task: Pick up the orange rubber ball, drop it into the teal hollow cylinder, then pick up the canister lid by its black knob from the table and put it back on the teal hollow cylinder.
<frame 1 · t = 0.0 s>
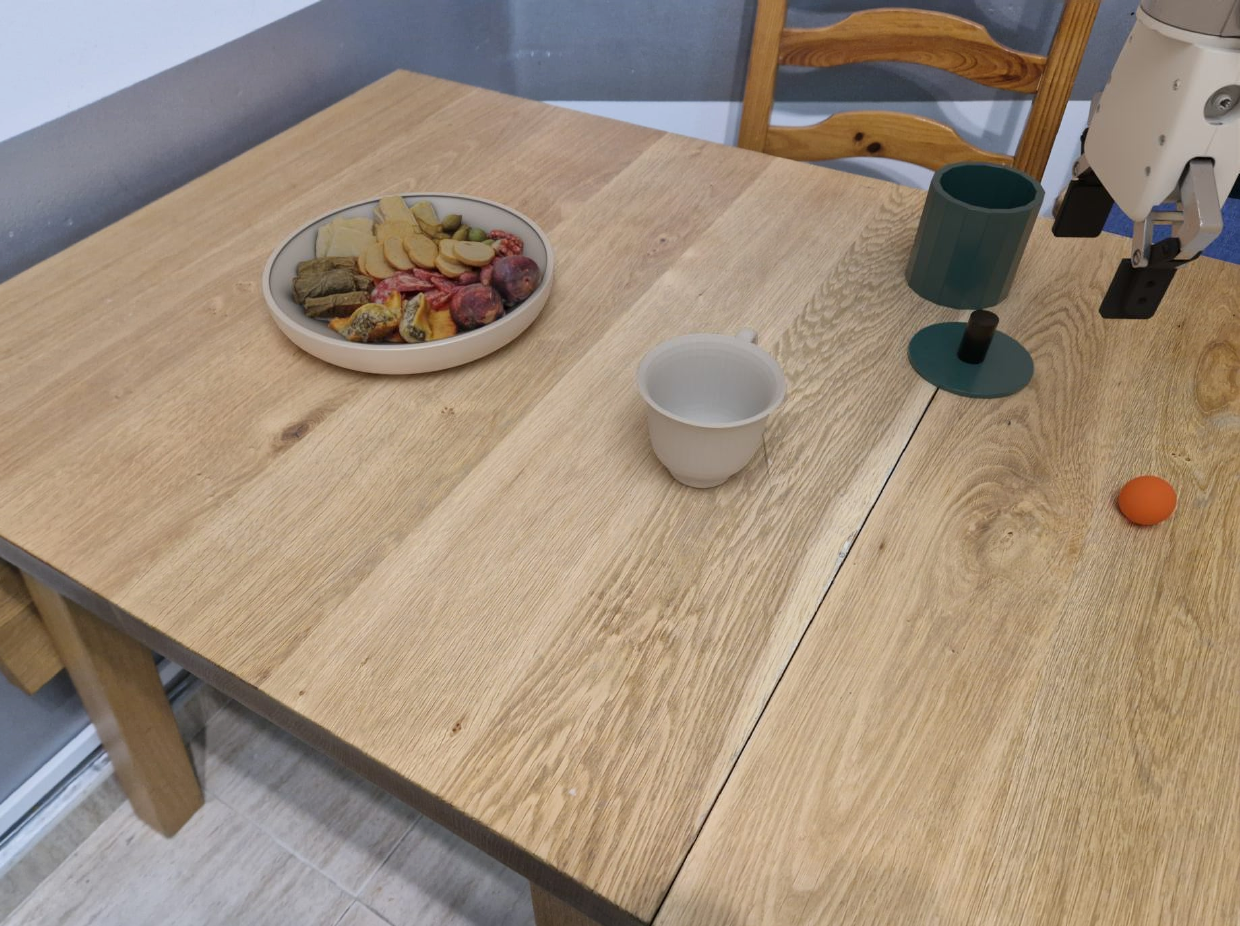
hand: (1097, 273, 62), 22 cm above the table, tool pointing down, fingers open, 9 cm apart
bowl: (415, 304, 101), on the table
ball: (1147, 500, 76), point 2 cm above the table
teacup: (706, 457, 83), on the table
teal hollow cylinder: (955, 285, 101), on the table
canister lid: (969, 360, 91), point 1 cm above the table
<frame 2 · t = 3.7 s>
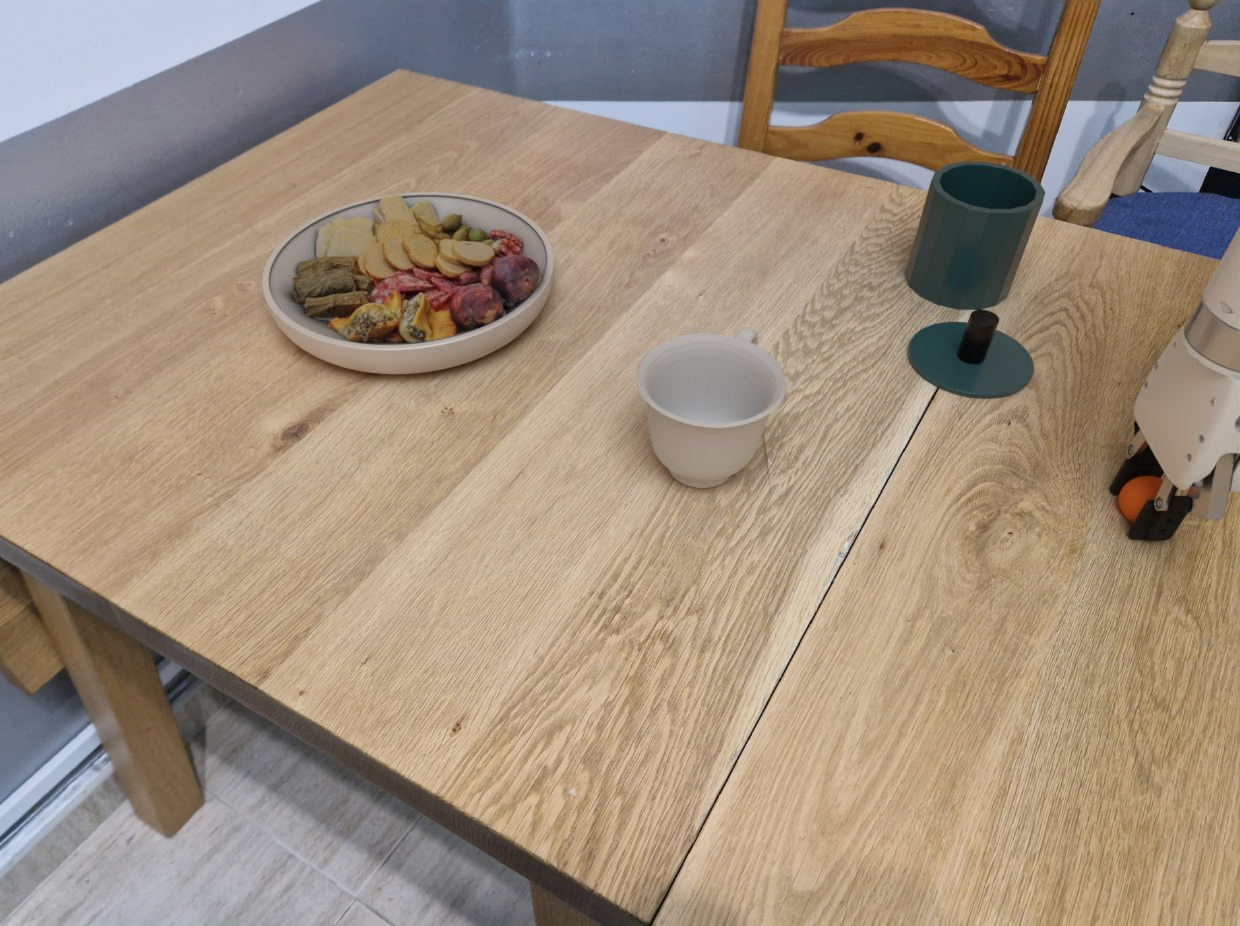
hand: (1138, 514, 77), 0 cm above the table, tool pointing down, fingers closed on ball, 3 cm apart
ball: (1147, 500, 76), point 2 cm above the table, touching gripper
everything else where it was.
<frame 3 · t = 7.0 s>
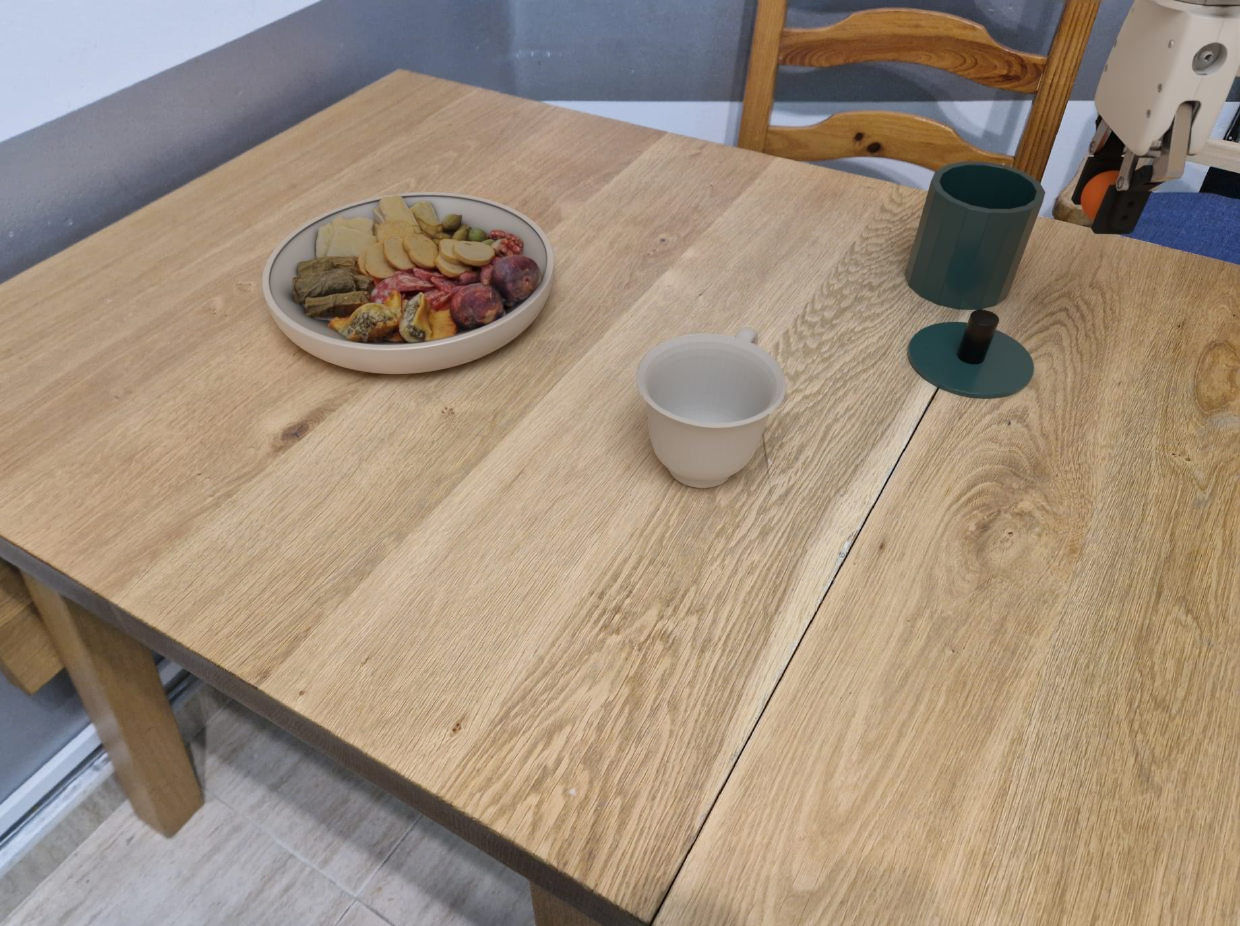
hand: (1101, 215, 77), 17 cm above the table, tool pointing down, fingers closed on ball, 3 cm apart
ball: (1108, 196, 76), point 19 cm above the table, touching gripper
everything else where it was.
when the fingers open (10 cm above the table, at t = 11.0 s): ball stays where it is, resting on teal hollow cylinder.
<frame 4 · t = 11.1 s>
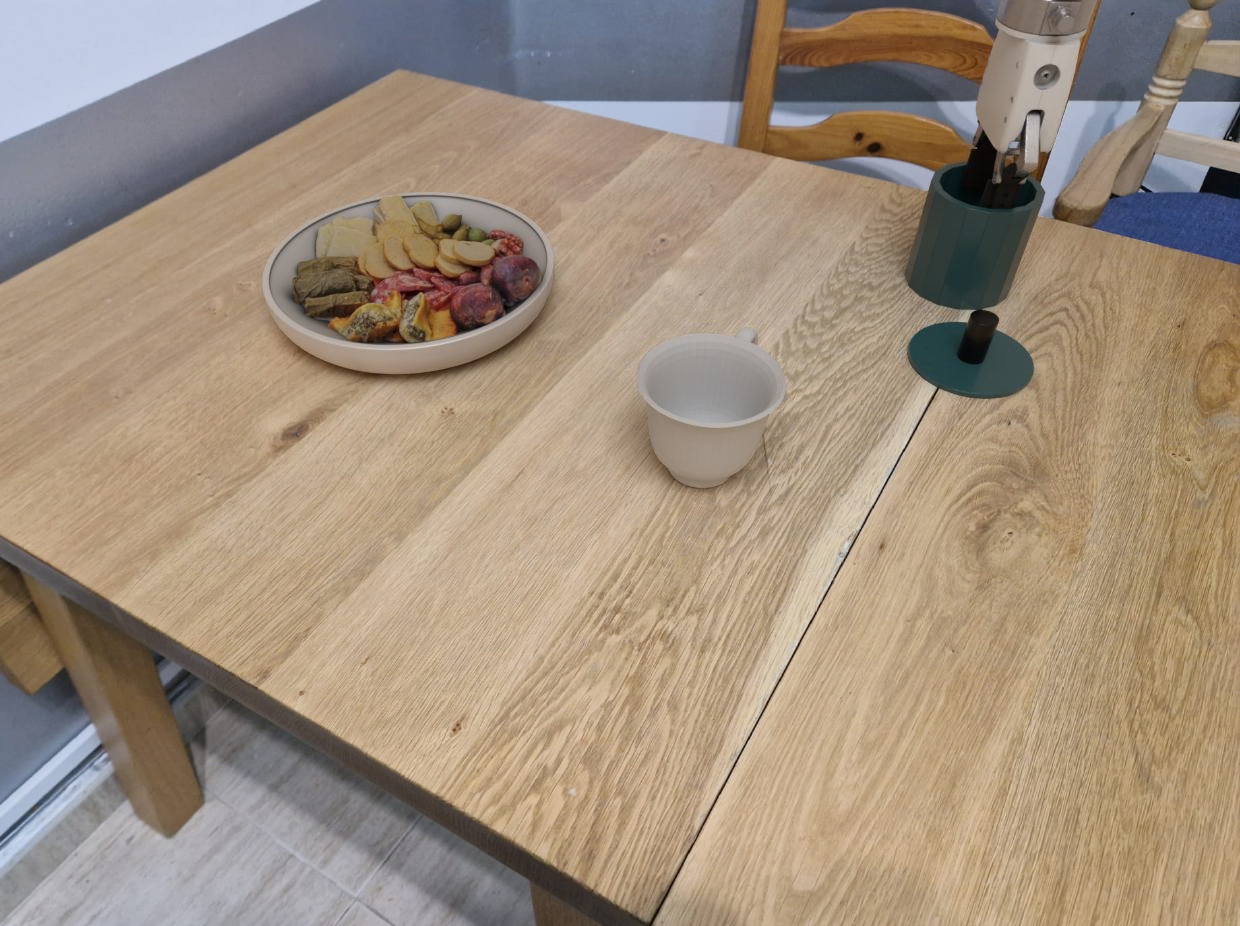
hand: (985, 201, 94), 10 cm above the table, tool pointing down, fingers open, 5 cm apart
ball: (961, 265, 100), point 2 cm above the table, touching teal hollow cylinder
everything else where it was.
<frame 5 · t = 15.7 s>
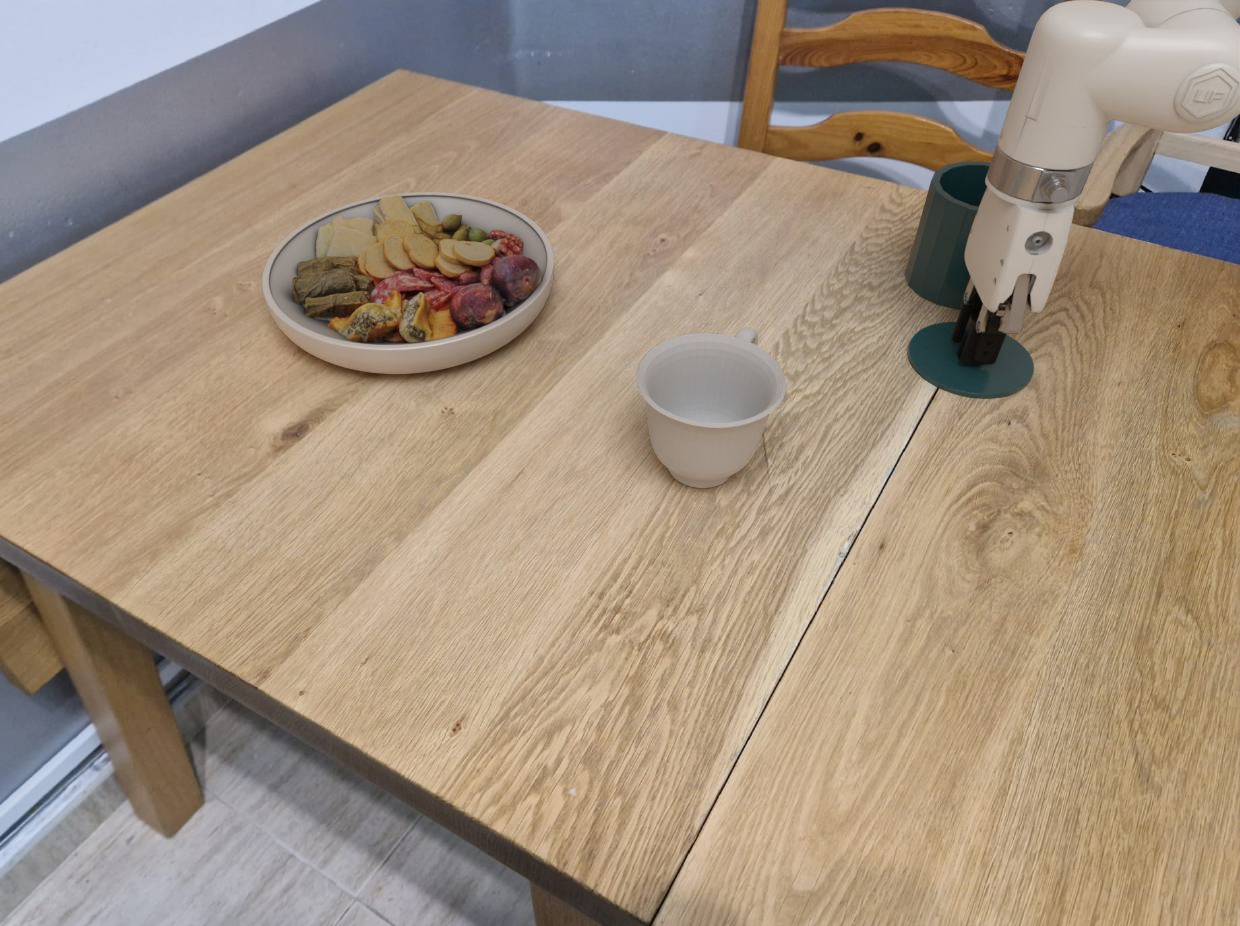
hand: (972, 350, 90), 2 cm above the table, tool pointing down, fingers closed on canister lid, 2 cm apart
canister lid: (969, 360, 91), point 1 cm above the table, touching gripper
everything else where it was.
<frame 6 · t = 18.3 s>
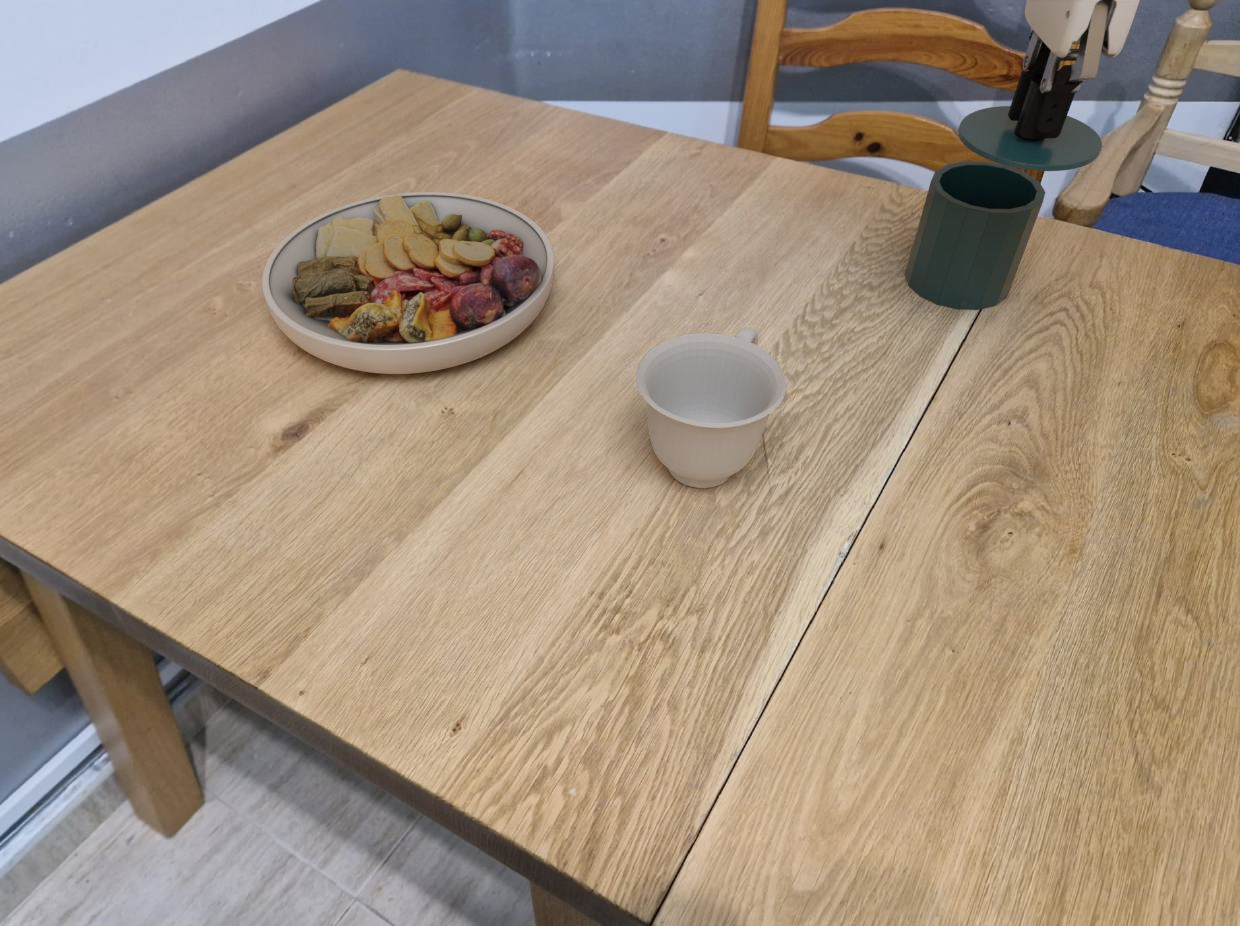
hand: (1032, 126, 81), 21 cm above the table, tool pointing down, fingers closed on canister lid, 2 cm apart
canister lid: (1027, 139, 81), point 20 cm above the table, touching gripper
everything else where it was.
when the fingers open (13 cm above the table, at t = 21.2 s): canister lid stays where it is, resting on teal hollow cylinder.
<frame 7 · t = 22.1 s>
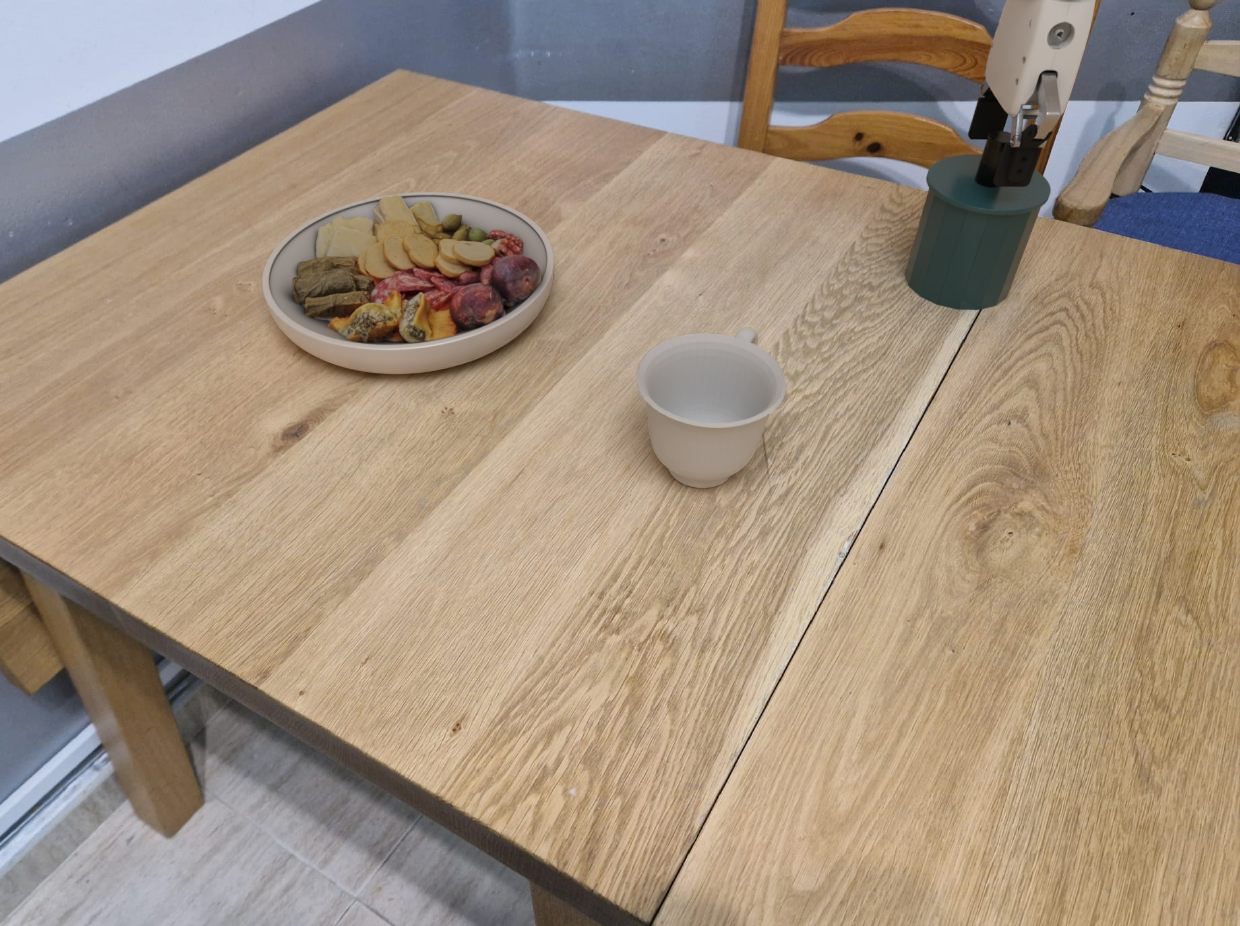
hand: (996, 161, 91), 14 cm above the table, tool pointing down, fingers open, 9 cm apart
canister lid: (986, 185, 93), point 11 cm above the table, touching teal hollow cylinder
everything else where it was.
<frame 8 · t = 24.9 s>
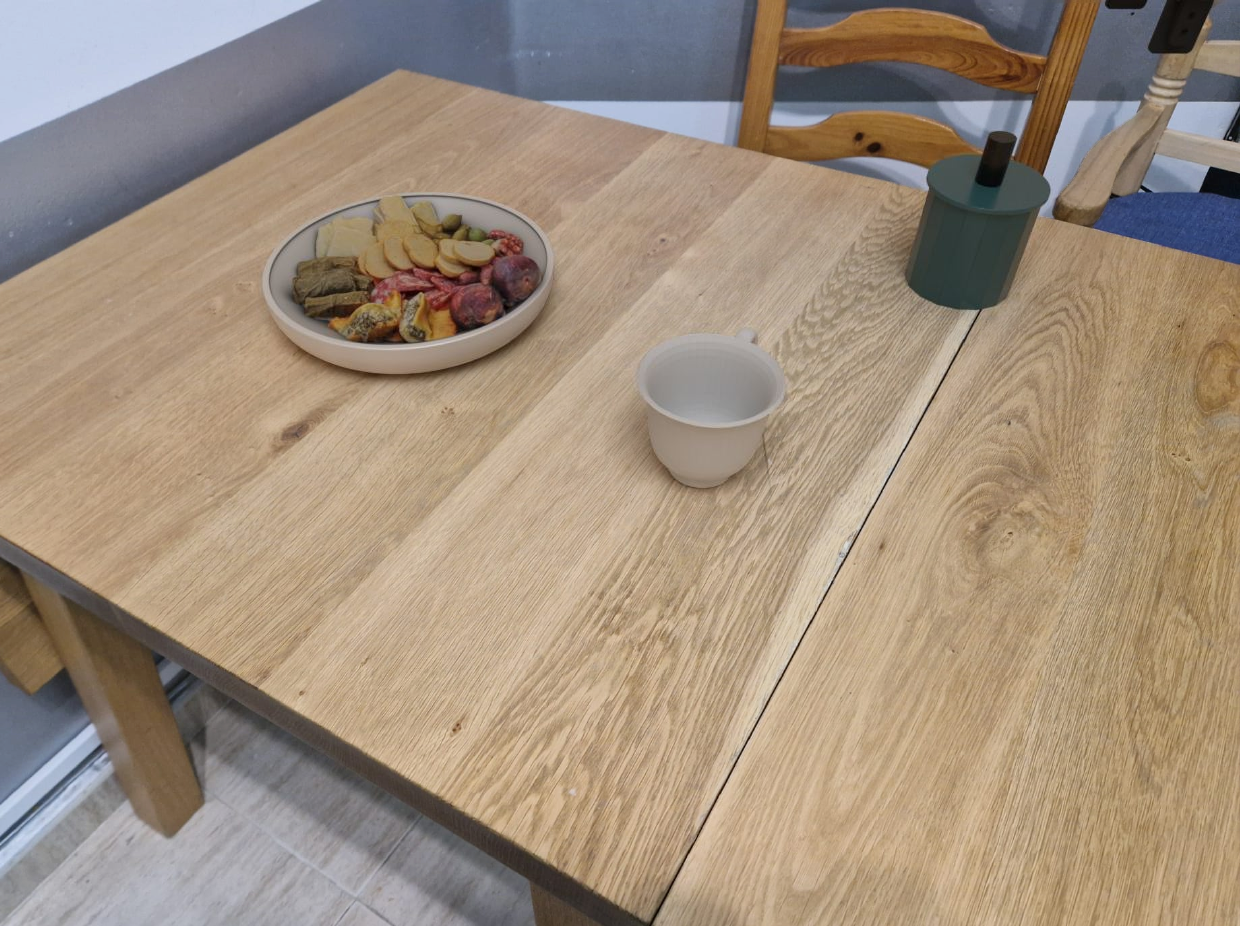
hand: (1144, 29, 76), 28 cm above the table, tool pointing down, fingers open, 9 cm apart
nothing on the table moved.
at the end: ball inside the target area in the teal hollow cylinder (0.4 cm from its centre), point 2.5 cm above the teal hollow cylinder's base; canister lid 0.1 cm off-centre on the teal hollow cylinder, point 11.5 cm above the teal hollow cylinder's base; canister lid tilted 0° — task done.
